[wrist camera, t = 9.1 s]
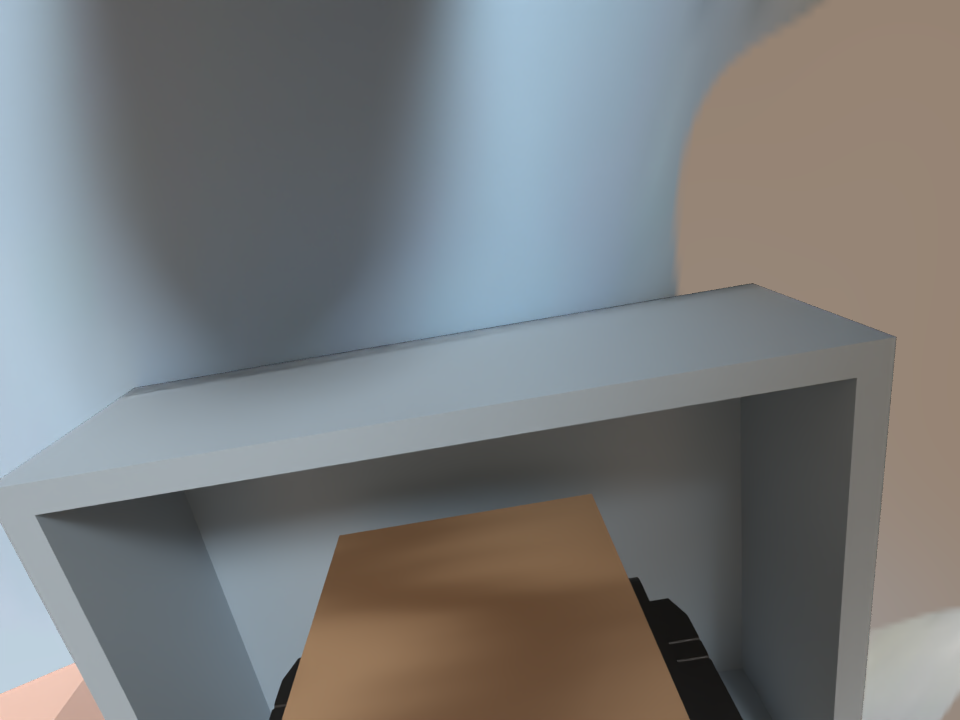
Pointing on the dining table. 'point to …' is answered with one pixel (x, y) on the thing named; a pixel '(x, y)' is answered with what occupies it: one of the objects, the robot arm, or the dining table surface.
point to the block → (483, 624)
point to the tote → (478, 493)
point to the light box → (51, 698)
